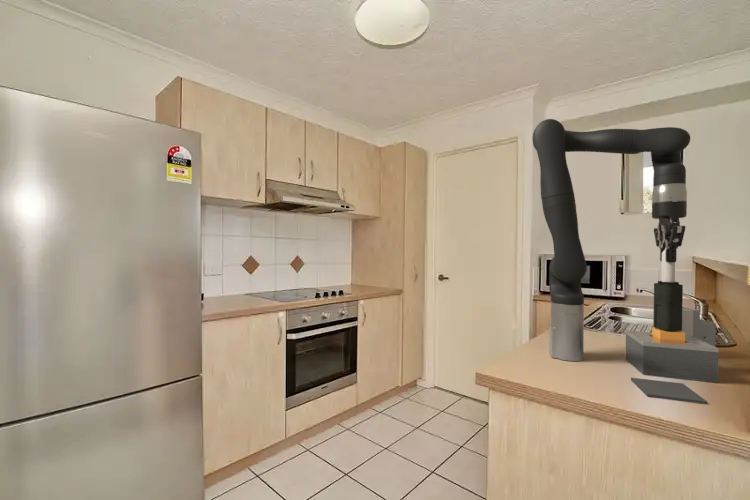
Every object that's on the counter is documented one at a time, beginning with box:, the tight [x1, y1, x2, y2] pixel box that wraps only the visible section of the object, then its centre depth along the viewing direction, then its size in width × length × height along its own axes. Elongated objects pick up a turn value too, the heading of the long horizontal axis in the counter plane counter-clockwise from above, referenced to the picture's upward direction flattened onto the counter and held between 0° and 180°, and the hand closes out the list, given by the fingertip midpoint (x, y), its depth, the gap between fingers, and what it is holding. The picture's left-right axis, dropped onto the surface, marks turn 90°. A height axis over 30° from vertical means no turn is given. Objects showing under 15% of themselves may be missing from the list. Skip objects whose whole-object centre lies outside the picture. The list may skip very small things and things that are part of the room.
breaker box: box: [625, 330, 719, 384], centre depth 98 cm, size 16×14×9 cm
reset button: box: [651, 326, 685, 343], centre depth 98 cm, size 6×6×7 cm
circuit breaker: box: [682, 306, 718, 347], centre depth 113 cm, size 8×14×15 cm, turn 78°
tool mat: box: [630, 377, 708, 405], centre depth 83 cm, size 11×11×1 cm
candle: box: [652, 248, 684, 331], centre depth 98 cm, size 5×5×25 cm
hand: (668, 261), depth 97 cm, fingers closed on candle, 3 cm apart
